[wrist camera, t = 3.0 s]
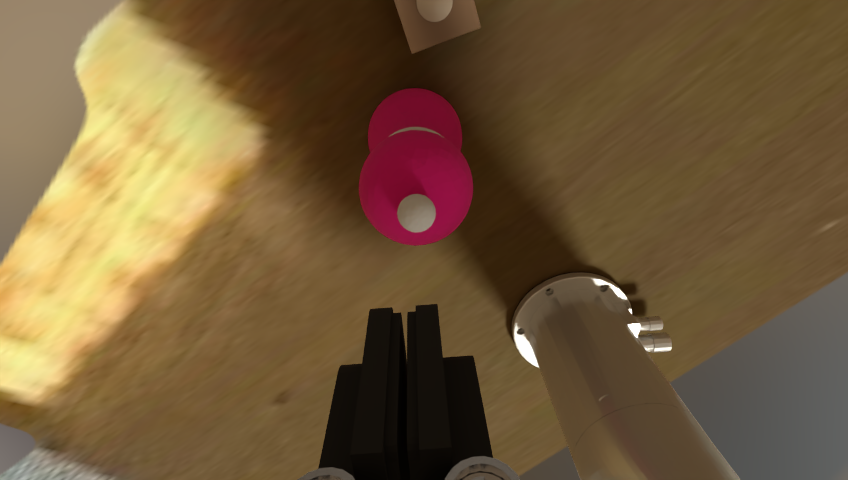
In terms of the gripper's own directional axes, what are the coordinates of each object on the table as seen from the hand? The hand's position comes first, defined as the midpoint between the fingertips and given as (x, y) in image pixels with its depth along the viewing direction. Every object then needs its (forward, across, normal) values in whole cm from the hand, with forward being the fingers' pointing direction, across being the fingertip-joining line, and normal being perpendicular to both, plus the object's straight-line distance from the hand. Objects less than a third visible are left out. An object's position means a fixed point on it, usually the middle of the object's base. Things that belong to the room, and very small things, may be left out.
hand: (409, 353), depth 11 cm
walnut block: (+29, -2, -8) cm, 30 cm away
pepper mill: (+29, 0, +1) cm, 29 cm away
